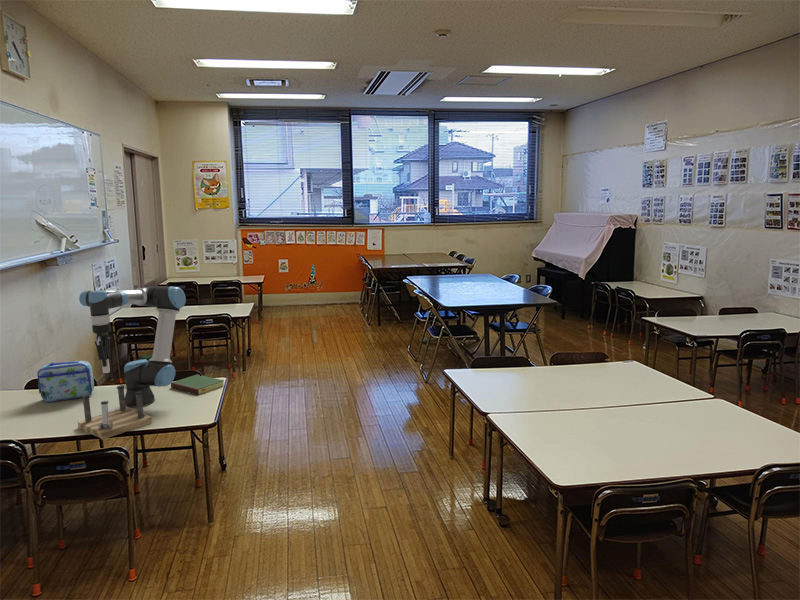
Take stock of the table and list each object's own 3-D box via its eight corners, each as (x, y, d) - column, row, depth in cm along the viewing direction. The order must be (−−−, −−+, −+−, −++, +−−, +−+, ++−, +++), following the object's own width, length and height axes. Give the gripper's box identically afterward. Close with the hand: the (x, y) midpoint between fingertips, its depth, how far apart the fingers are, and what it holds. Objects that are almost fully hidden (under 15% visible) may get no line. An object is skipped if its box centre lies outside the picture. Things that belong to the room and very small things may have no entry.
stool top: (78, 427, 268) (74, 396, 265) (126, 412, 287) (123, 383, 284) (102, 439, 254) (99, 406, 251) (152, 422, 273) (149, 391, 270)
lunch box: (38, 404, 301) (33, 367, 298) (44, 397, 311) (39, 362, 308) (92, 398, 309) (87, 362, 306) (96, 392, 319) (91, 357, 316)
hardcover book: (171, 388, 325) (170, 382, 325) (197, 380, 341) (197, 374, 340) (198, 395, 312) (198, 389, 311) (225, 386, 328) (224, 380, 327)
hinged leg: (109, 427, 259) (108, 429, 257) (103, 428, 259) (102, 429, 257) (108, 400, 259) (106, 402, 257) (102, 401, 259) (100, 402, 256)
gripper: (97, 321, 263) (103, 368, 267) (86, 327, 250) (92, 377, 254) (114, 320, 264) (119, 368, 268) (104, 326, 251) (110, 376, 255)
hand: (106, 372), depth 261 cm, fingers closed
